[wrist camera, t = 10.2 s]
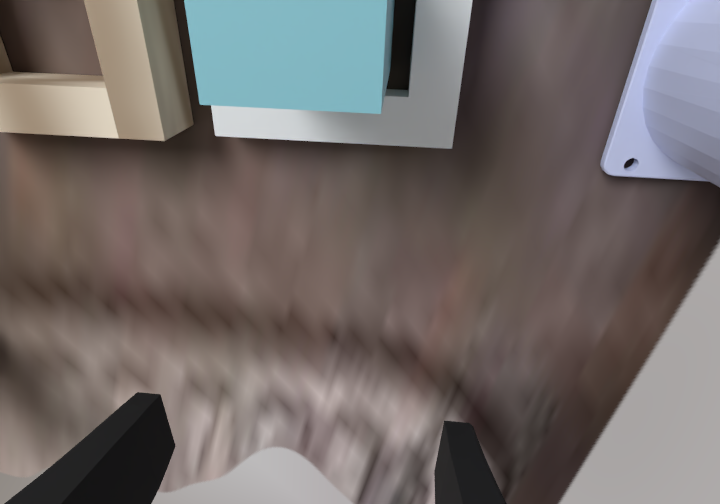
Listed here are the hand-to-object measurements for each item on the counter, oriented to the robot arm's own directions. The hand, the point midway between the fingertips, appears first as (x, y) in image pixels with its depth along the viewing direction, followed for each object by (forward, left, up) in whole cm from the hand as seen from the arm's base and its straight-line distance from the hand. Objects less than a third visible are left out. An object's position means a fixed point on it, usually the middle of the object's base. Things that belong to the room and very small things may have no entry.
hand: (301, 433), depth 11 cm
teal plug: (+1, -10, -10) cm, 14 cm away
